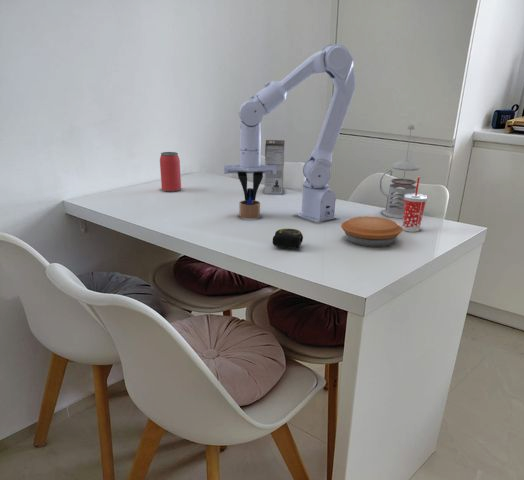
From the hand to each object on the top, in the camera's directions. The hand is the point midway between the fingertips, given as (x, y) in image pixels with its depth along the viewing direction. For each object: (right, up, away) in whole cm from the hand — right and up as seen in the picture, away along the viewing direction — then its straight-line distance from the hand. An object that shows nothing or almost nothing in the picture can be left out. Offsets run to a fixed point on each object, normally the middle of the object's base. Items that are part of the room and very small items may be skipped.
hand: (249, 199), depth 154 cm
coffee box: (+7, +12, +32) cm, 35 cm away
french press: (+44, -2, +9) cm, 45 cm away
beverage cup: (+44, -10, -5) cm, 46 cm away
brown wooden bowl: (0, -4, +2) cm, 5 cm away
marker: (0, -4, +2) cm, 4 cm away
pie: (+31, -15, -15) cm, 38 cm away
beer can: (-27, +12, +31) cm, 43 cm away
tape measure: (+10, -18, -21) cm, 30 cm away
